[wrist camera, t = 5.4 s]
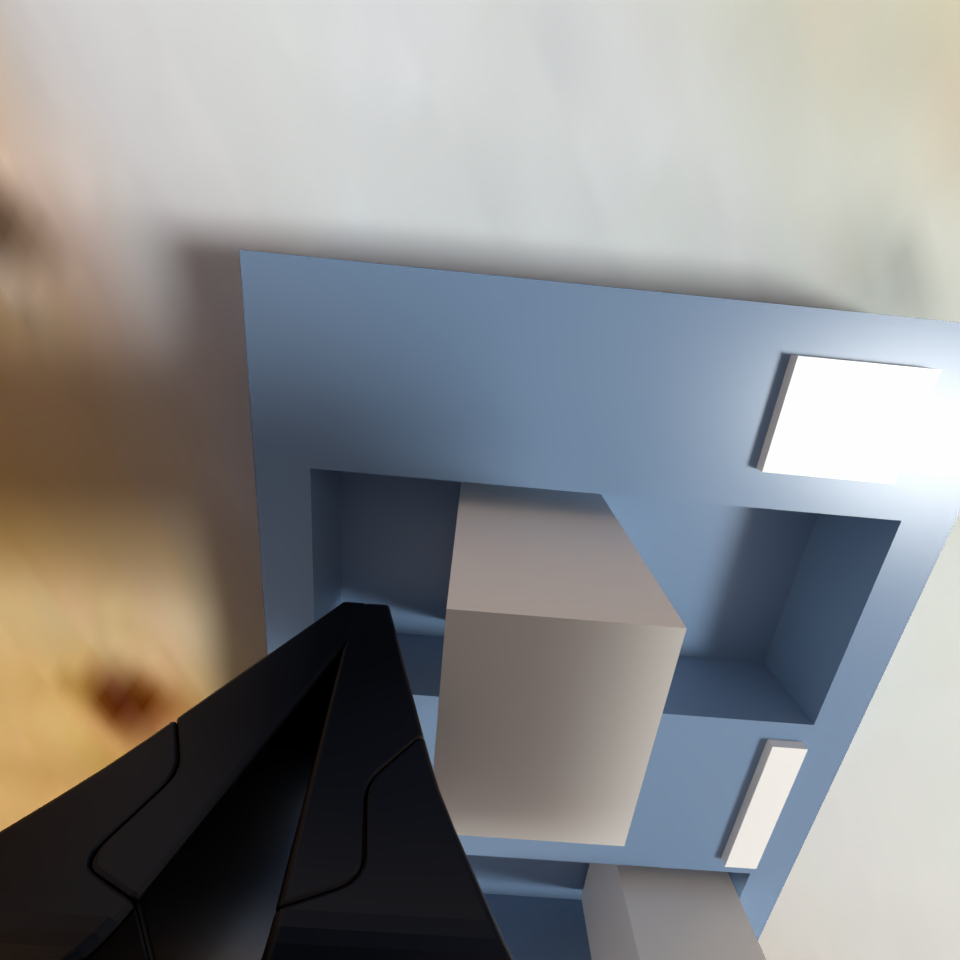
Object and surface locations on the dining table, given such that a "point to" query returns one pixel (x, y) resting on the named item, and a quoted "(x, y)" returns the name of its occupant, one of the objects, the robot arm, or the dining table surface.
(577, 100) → the dining table surface
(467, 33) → the dining table surface
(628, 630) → the tab
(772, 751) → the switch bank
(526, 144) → the dining table surface
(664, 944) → the tab
